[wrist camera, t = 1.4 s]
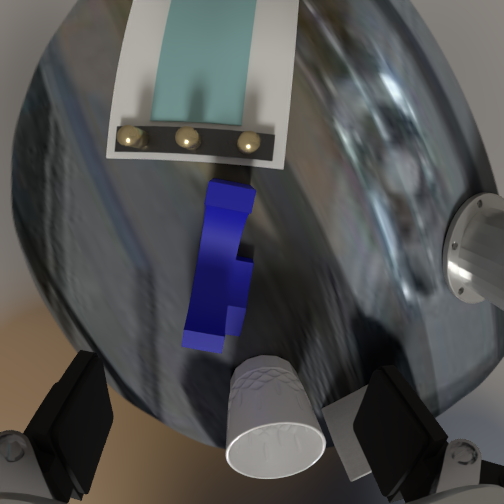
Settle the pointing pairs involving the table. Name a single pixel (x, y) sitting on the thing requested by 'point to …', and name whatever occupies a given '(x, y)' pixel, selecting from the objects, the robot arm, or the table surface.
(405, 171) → the table surface
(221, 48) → the board
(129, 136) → the coat peg rack
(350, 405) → the grey box
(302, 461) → the white cup
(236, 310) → the blue curved stepped piece
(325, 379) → the table surface
